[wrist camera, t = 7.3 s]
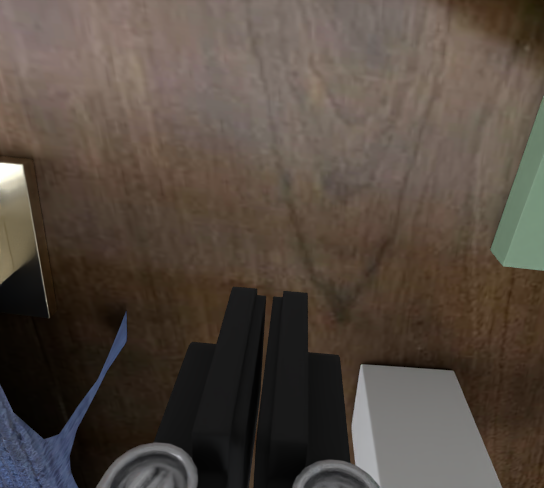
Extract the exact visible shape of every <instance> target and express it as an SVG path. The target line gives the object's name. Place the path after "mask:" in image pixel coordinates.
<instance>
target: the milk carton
mask: <svg viewBox="0 0 544 488" xmlns="http://www.w3.org/2000/svg"><path fill="white" fill-rule="evenodd" d="M352 436H353V446H354V455H355V465H356V466H358V467H359V468H361V469H362V470H364V471H365V472H367V473H368V474H369V475H370V476H371V477H372V478H373V479H374V480H375V481H376V483H377V484H378V485H379V486H380V488H502V487H501V484H500V482H499V479H498V477H497V475H496V472H495V470H494V467H493V465H492V462H491V460H490V458H489V455H488V453H487V450H486V448H485V445H484V443H483V441H482V438H481V436H480V433H479V431H478V428H477V426H476V424H475V421H474V419H473V416H472V414H471V411H470V409H469V407H468V404H467V402H466V399H465V397H464V394H463V392H462V390H461V387H460V385H459V382H458V380H457V377H456V375H455V373H454V371H452V370H438V369H424V368H410V367H396V366H381V365H366V364H362V365H361V366H360V372H359V379H358V386H357V392H356V399H355V406H354V413H353V419H352Z"/></svg>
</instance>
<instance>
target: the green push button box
mask: <svg viewBox="0 0 544 488" xmlns="http://www.w3.org/2000/svg"><path fill="white" fill-rule="evenodd" d="M490 250H491V252H492V253H493V254H494V255H495V257H496V258H497V259H498V261H499V262H500V263H501V264H502V266H506V267H516V268H525V269H534V270H543V271H544V96H543V99H542V102H541V105H540V108H539V110H538V113H537V116H536V119H535V122H534V125H533V128H532V131H531V134H530V136H529V139H528V142H527V145H526V148H525V151H524V154H523V157H522V160H521V163H520V165H519V168H518V171H517V174H516V177H515V180H514V183H513V186H512V189H511V191H510V194H509V197H508V200H507V203H506V206H505V209H504V212H503V215H502V218H501V220H500V223H499V226H498V229H497V232H496V235H495V238H494V241H493V244H492V246H491V249H490Z"/></svg>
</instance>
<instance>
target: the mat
mask: <svg viewBox="0 0 544 488" xmlns="http://www.w3.org/2000/svg"><path fill="white" fill-rule="evenodd" d="M126 341H127V313H125V315H124V318H123V320H122V323H121V326H120V328H119V331H118V333H117V336H116V338H115V340H114V343H113V345H112V348H111V350H110V352H109V355H108V357H107V360H106V362H105V364H104V367H103V369H102V371H101V374H100V376H99V378H98V380H97V381H96V382H95V384H94V385H93V386H92V388H91V389H90V390H89V392H88V393H87V395H86V396H85V397H84V399H83V400H82V401H81V403H80V404H79V405H78V407H77V408H76V410H75V411H74V413H73V414H72V416H71V417H70V419H69V420H68V422H67V423H66V425H65V426H64V428H63V429H62V431H61V432H60V433H59V434H58V435H55V436H53V437H50V438H46V439H43V438H42V437H41V436H40V435H38V434H37V433H36V432H35V431H34V430H33V429H32V428H30V427H29V426H28V425H27V424H26V423H25V422H24V421H23V420H22V419H20V418H19V417H18V416H17V415H16V414H15V413H14V412H13V411H12V408H11V406H10V404H9V402H8V400H7V398H6V396H5V394H4V391H3V389H2V387H1V385H0V488H78V486H77V485H76V483H75V480H74V478H73V476H72V474H71V467H70V453H71V449H72V445H73V442H74V438H75V434H76V431H77V428H78V426H79V424H80V423H81V421H82V419H83V417H84V415H85V413H86V411H87V409H88V407H89V406H90V404H91V402H92V400H93V398H94V396H95V394H96V392H97V390H98V388H99V386H100V384H101V382H102V380H103V378H104V376H105V374H106V372H107V370H108V369H109V367H110V366H111V364H112V363H113V361H114V360H115V358H116V357H117V355H118V354H119V352H120V351H121V349H122V348H123V346H124V345H125V343H126Z"/></svg>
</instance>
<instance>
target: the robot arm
mask: <svg viewBox="0 0 544 488" xmlns="http://www.w3.org/2000/svg"><path fill="white" fill-rule="evenodd" d="M265 306H266V296H261V295H257V289H254V288H242V287H233V288H232V291H231V294H230V298H229V301H228V305H227V309H226V312H225V316H224V319H223V323H222V326H221V330H220V334H219V337H218V341H217V344H209V343H198V342H192V343H190V345H189V347H188V350H187V352H186V355H185V358H184V361H183V363H182V366H181V369H180V372H179V374H178V377H177V380H176V383H175V385H174V388H173V391H172V394H171V396H170V399H169V402H168V405H167V407H166V410H165V413H164V415H163V418H162V421H161V424H160V426H159V429H158V432H157V435H156V437H155V440H154V443H150V444H144V445H140V446H138V447H135V448H133V449H131V450H128V451H127V452H126V453H124V454H123V455H121V456H120V457H119V458H117V459H116V460H115V461H114V462H113V464H112V465H111V466H110V467H109V468H108V470H107V471H106V472H105V474H104V475H103V477H102V479H101V480H100V482H99V483H98V485H97V487H96V488H249V481H250V473H251V465H252V457H253V449H254V441H255V433H256V425H257V416H258V408H259V400H260V390H261V374H262V357H263V340H264V323H265ZM254 488H380V486H379V485H378V484H377V483H376V481H375V480H374V479H373V478H372V477H371V476H370V475H369V474H368V473H367V472H365V471H364V470H362V469H361V468H359V467H358V466H356V465H353V464H351V463H350V454H349V444H348V434H347V424H346V414H345V404H344V394H343V384H342V374H341V364H340V357H339V355H332V354H321V353H310V352H308V294H307V293H301V292H290V291H283V297H273V304H272V313H271V321H270V329H269V337H268V346H267V354H266V362H265V370H264V379H263V387H262V395H261V404H260V412H259V420H258V429H257V440H256V453H255V471H254Z"/></svg>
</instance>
